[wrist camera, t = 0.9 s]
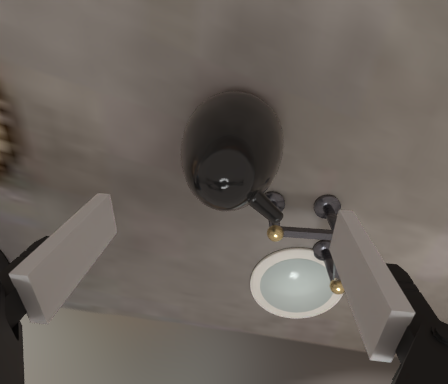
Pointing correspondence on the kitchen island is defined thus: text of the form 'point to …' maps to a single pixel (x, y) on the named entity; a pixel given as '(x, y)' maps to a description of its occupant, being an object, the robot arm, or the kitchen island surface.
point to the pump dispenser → (233, 153)
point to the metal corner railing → (312, 233)
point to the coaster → (293, 284)
